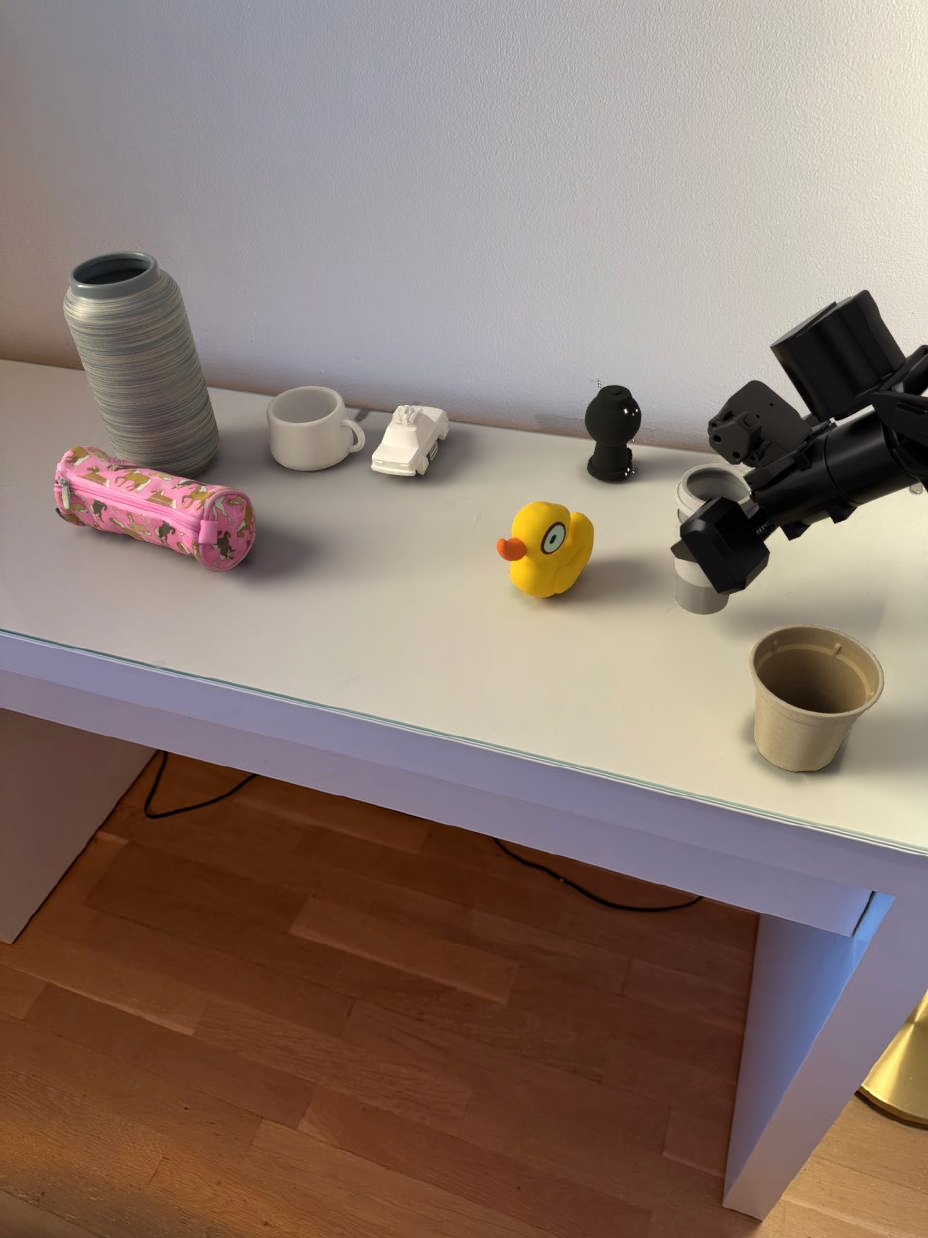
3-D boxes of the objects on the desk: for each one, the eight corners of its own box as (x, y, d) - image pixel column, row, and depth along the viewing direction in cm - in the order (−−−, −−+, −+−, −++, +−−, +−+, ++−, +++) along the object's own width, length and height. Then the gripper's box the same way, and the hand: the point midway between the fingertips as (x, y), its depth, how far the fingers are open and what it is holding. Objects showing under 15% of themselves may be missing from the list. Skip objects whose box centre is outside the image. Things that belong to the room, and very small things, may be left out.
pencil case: (59, 541, 98) (27, 471, 92) (119, 493, 104) (93, 424, 98) (220, 596, 90) (197, 524, 84) (275, 541, 96) (258, 470, 90)
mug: (256, 464, 106) (244, 419, 102) (298, 421, 113) (289, 377, 108) (347, 485, 103) (340, 438, 98) (386, 439, 109) (381, 393, 105)
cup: (751, 620, 79) (774, 506, 71) (674, 628, 79) (688, 515, 71) (726, 567, 84) (746, 455, 76) (654, 574, 84) (665, 463, 76)
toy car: (454, 433, 109) (450, 381, 104) (418, 491, 101) (413, 438, 96) (406, 426, 111) (401, 375, 106) (368, 483, 103) (360, 430, 98)
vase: (102, 481, 106) (26, 285, 90) (163, 428, 113) (103, 239, 97) (186, 500, 102) (122, 299, 86) (243, 445, 110) (195, 251, 94)
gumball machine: (651, 476, 101) (660, 394, 94) (609, 496, 99) (615, 414, 92) (611, 449, 105) (616, 369, 98) (570, 468, 103) (572, 387, 96)
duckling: (521, 631, 84) (520, 546, 78) (482, 603, 88) (477, 518, 81) (606, 574, 90) (612, 489, 83) (566, 549, 93) (569, 465, 86)
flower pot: (740, 687, 78) (758, 612, 72) (859, 711, 76) (886, 636, 70) (724, 773, 72) (741, 699, 66) (852, 803, 69) (882, 729, 63)
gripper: (850, 316, 69) (702, 404, 82) (721, 426, 59) (576, 505, 72) (928, 442, 70) (769, 508, 83) (813, 569, 60) (654, 622, 73)
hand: (696, 531), depth 78 cm, fingers closed on cup, 6 cm apart
